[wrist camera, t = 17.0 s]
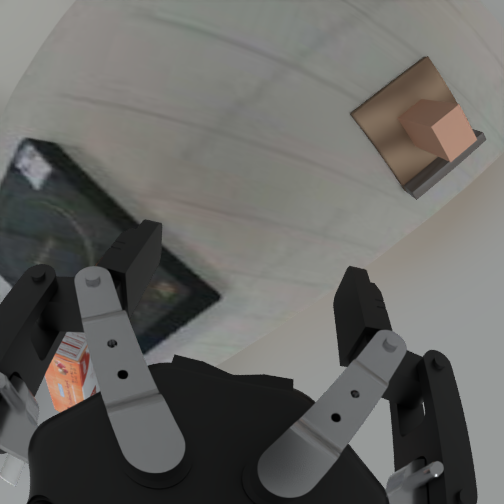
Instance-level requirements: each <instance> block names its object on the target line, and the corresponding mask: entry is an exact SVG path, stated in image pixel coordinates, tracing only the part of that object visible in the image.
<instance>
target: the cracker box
mask: <svg viewBox="0 0 504 504" xmlns="http://www.w3.org/2000/svg"><path fill="white" fill-rule="evenodd" d="M99 261H100V260H99ZM96 265H97V264H96ZM45 378H46V381H47V385H48V388H49V391H50V395H51V398H52V401H53V405H54V408H55V410H57V411H59V412H62V411H64V410H66V409H68V408H70V407H72V406H74V405H75V404H77V403H79V402H81V401H83V400H85V399H87V398H88V397H90V396H92V395H94V394H96V393H98V392H99V391H100V388H99V385H98V382H97V378H96V375H95V371H94V368H93V364H92V361H91V357H90V353H89V349H88V345H87V341H86V337H85V333H80V332H67V333H66V334H65V336H64V338H63V340H62V342H61V344H60V346H59V348H58V350H57V351H56V353H55V355H54V357H53V359H52V361H51V363H50V365H49V367H48V369H47V371H46V373H45Z"/></svg>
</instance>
